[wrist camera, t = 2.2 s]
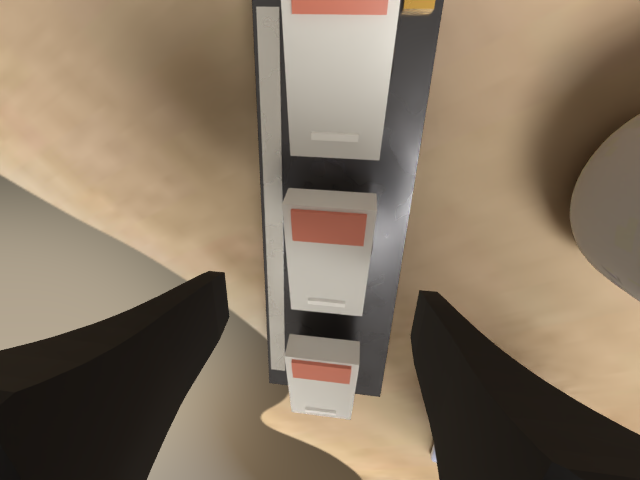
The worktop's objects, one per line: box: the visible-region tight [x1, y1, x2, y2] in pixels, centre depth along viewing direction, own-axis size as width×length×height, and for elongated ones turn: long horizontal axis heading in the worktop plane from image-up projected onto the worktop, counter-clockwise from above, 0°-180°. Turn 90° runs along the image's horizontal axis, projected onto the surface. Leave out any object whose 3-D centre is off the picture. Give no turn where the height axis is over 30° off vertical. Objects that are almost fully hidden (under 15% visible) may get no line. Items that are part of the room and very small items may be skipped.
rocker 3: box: [285, 334, 360, 420], centre depth 19 cm, size 7×4×2 cm, turn 178°
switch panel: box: [252, 0, 444, 397], centre depth 18 cm, size 24×8×5 cm, turn 178°
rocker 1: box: [281, 0, 400, 160], centre depth 12 cm, size 7×4×2 cm, turn 178°
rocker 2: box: [282, 188, 377, 316], centre depth 15 cm, size 7×4×2 cm, turn 178°
